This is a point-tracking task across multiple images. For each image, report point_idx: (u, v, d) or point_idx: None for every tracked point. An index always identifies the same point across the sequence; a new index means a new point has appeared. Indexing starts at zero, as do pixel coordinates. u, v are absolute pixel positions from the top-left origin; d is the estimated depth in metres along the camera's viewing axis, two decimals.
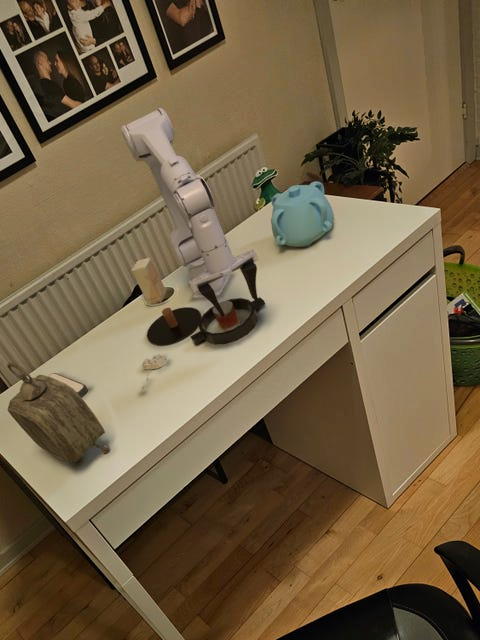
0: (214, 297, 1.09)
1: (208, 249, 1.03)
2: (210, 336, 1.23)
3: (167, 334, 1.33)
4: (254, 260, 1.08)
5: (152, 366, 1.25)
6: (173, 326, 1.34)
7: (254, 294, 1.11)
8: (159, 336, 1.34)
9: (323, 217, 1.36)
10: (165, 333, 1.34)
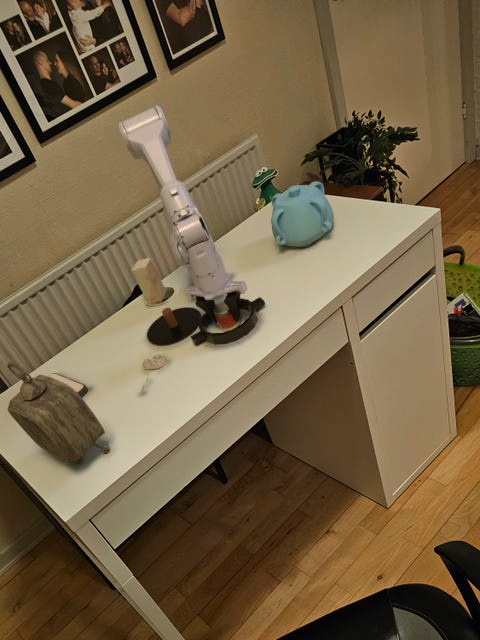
0: (206, 309, 1.24)
1: (202, 275, 1.16)
2: (210, 336, 1.23)
3: (167, 334, 1.33)
4: (240, 292, 1.18)
5: (152, 366, 1.25)
6: (173, 326, 1.34)
7: (234, 317, 1.24)
8: (159, 336, 1.34)
9: (323, 217, 1.36)
10: (165, 333, 1.34)
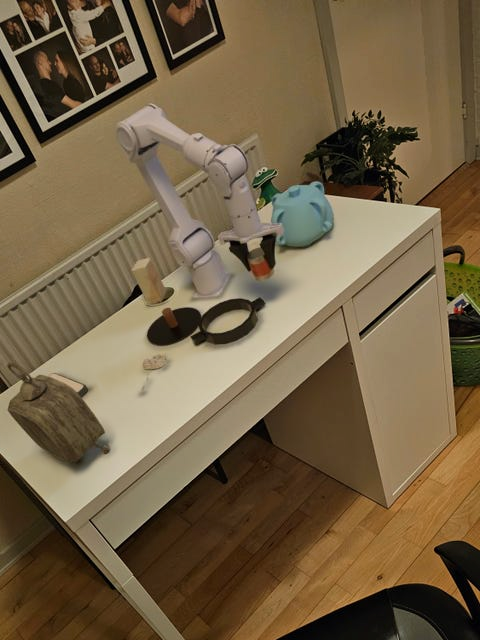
0: (240, 254, 1.18)
1: (245, 213, 1.10)
2: (210, 336, 1.23)
3: (167, 334, 1.33)
4: (277, 235, 1.13)
5: (152, 366, 1.25)
6: (173, 326, 1.34)
7: (269, 264, 1.19)
8: (159, 336, 1.34)
9: (323, 217, 1.36)
10: (165, 333, 1.34)
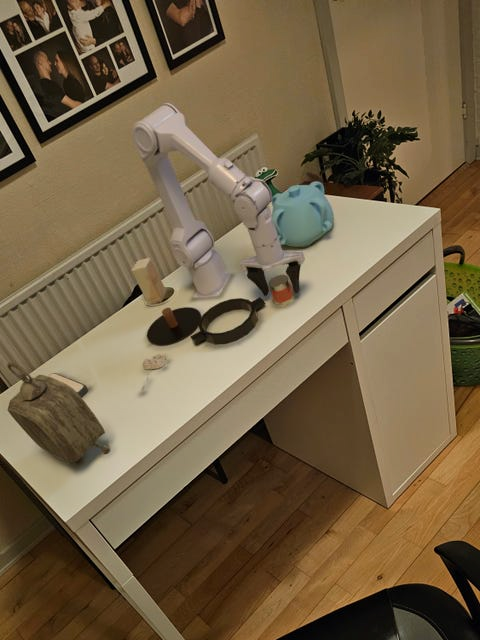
0: (257, 281, 1.24)
1: (269, 242, 1.16)
2: (210, 336, 1.23)
3: (167, 334, 1.33)
4: (298, 263, 1.19)
5: (152, 366, 1.25)
6: (173, 326, 1.34)
7: (294, 289, 1.24)
8: (159, 336, 1.34)
9: (323, 217, 1.36)
10: (165, 333, 1.34)
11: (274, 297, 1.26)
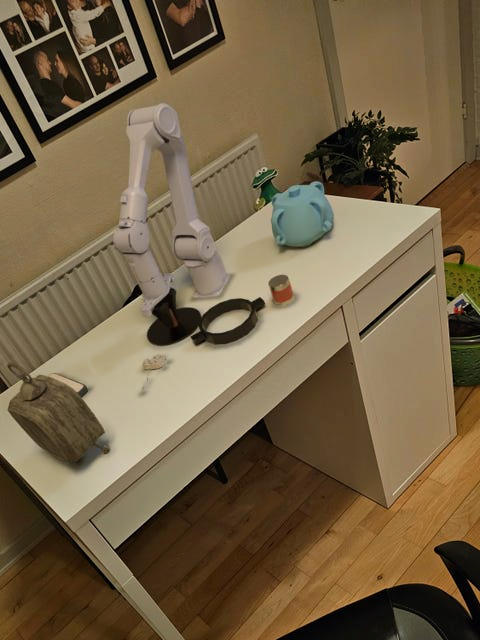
0: None
1: (137, 279, 1.25)
2: (210, 336, 1.23)
3: (167, 334, 1.33)
4: None
5: (152, 366, 1.25)
6: (173, 326, 1.34)
7: None
8: (159, 336, 1.34)
9: (323, 217, 1.36)
10: (165, 333, 1.34)
11: (274, 297, 1.26)
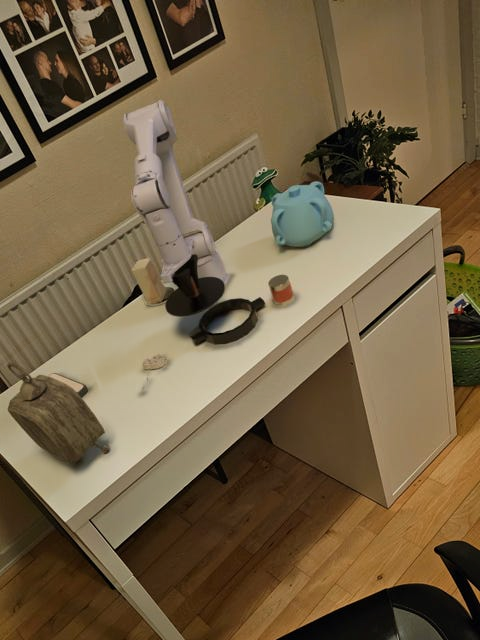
0: None
1: (160, 243, 1.13)
2: (210, 336, 1.23)
3: (187, 304, 1.23)
4: None
5: (152, 366, 1.25)
6: (194, 296, 1.24)
7: None
8: (179, 307, 1.23)
9: (323, 217, 1.36)
10: (185, 303, 1.23)
11: (274, 297, 1.26)
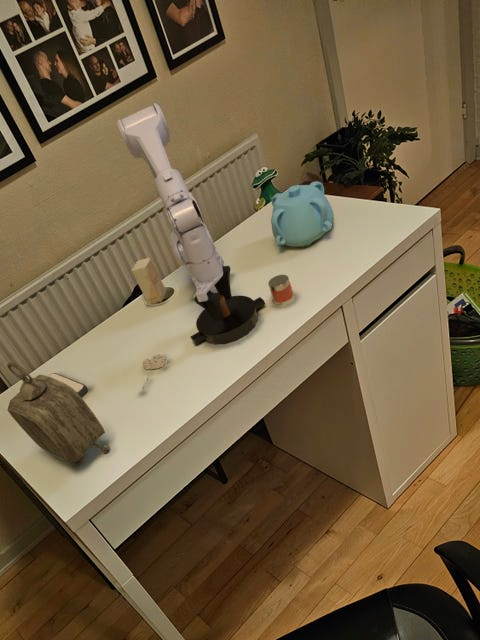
0: None
1: (197, 262, 1.13)
2: (210, 336, 1.23)
3: (220, 324, 1.23)
4: None
5: (152, 366, 1.25)
6: (226, 315, 1.24)
7: None
8: (212, 326, 1.24)
9: (323, 217, 1.36)
10: (218, 323, 1.24)
11: (274, 297, 1.26)
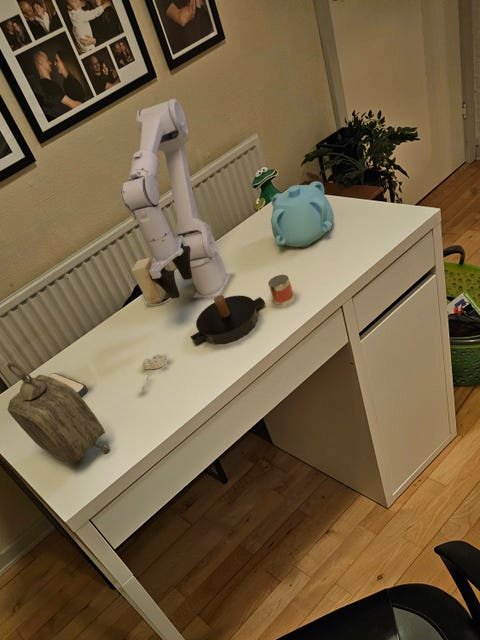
0: (174, 278, 1.20)
1: (148, 239, 1.17)
2: (210, 336, 1.23)
3: (220, 324, 1.23)
4: (183, 243, 1.26)
5: (152, 366, 1.25)
6: (226, 315, 1.24)
7: (190, 273, 1.28)
8: (212, 326, 1.24)
9: (323, 217, 1.36)
10: (218, 323, 1.24)
11: (274, 297, 1.26)
